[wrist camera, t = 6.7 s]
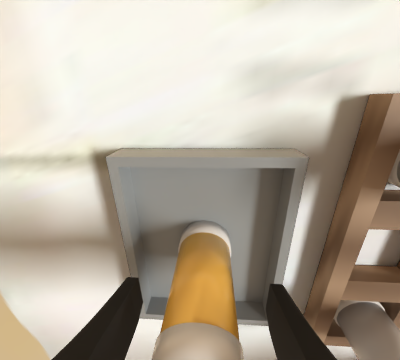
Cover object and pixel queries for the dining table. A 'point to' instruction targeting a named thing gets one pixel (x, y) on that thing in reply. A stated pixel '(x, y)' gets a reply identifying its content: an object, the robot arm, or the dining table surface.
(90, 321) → the robot arm
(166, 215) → the tray
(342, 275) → the brown wooden rack
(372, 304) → the cylinder
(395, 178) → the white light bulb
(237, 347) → the amber fuse
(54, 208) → the dining table surface
